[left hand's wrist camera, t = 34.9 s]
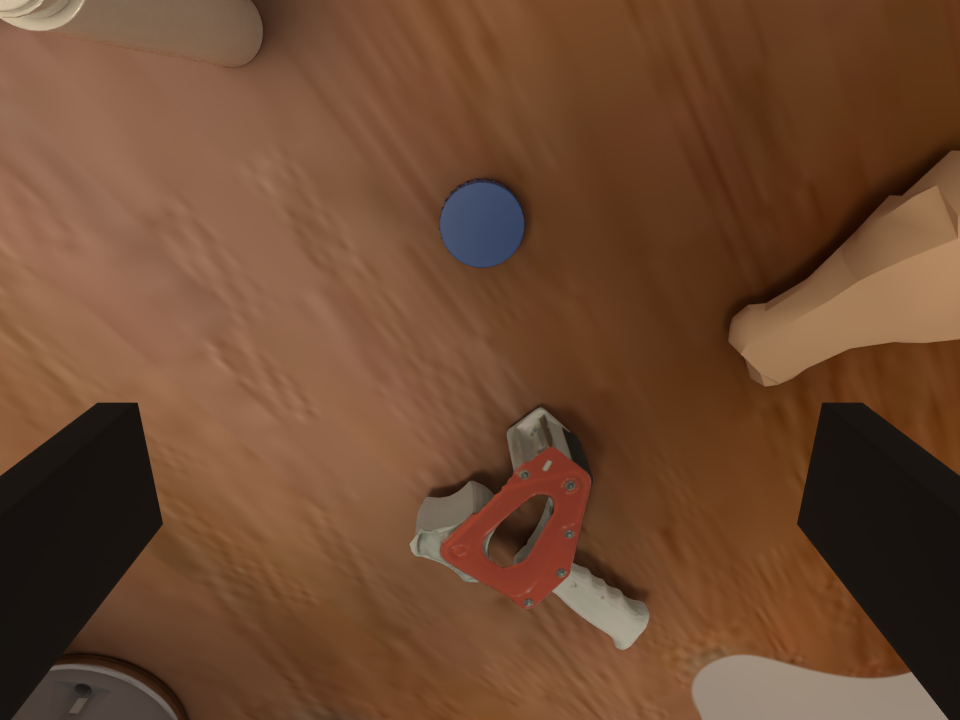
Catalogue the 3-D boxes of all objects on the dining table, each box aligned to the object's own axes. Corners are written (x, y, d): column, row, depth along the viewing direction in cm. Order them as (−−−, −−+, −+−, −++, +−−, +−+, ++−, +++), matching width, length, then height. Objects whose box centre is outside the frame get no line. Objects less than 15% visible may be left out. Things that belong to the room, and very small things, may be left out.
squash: (1050, 237, 41) (1177, 305, 33) (752, 383, 47) (802, 467, 40) (1016, 89, 36) (1155, 129, 29) (688, 274, 43) (732, 347, 35)
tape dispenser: (634, 613, 53) (658, 401, 45) (653, 668, 49) (683, 441, 40) (421, 624, 53) (405, 411, 44) (419, 681, 48) (401, 453, 39)
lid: (540, 213, 40) (543, 217, 39) (489, 278, 42) (489, 285, 40) (474, 160, 39) (473, 162, 37) (423, 228, 41) (421, 234, 39)
